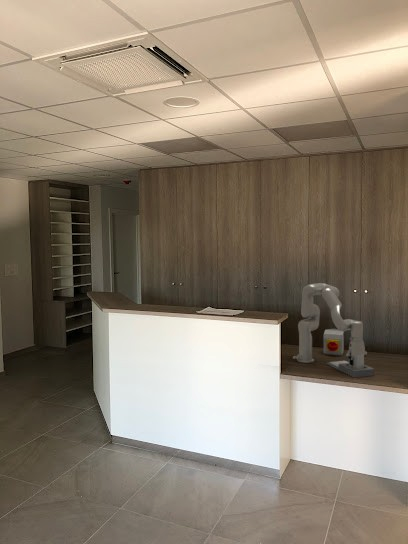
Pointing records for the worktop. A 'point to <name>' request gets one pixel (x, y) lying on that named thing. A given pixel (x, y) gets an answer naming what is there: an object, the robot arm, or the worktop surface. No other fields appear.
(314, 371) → the worktop surface
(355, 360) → the small box
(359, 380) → the worktop surface
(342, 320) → the robot arm
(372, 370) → the case
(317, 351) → the worktop surface
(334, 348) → the electrical switch box
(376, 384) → the worktop surface
